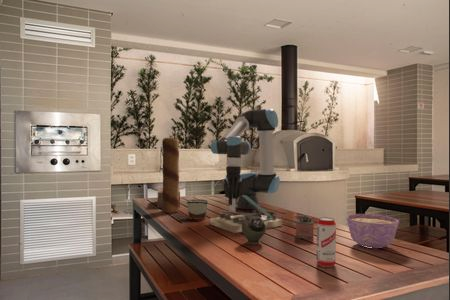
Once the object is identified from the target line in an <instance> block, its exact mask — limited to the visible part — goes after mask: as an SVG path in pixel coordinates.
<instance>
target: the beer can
mask: <svg viewBox="0 0 450 300" xmlns="http://www.w3.org/2000/svg"><path fill="white" fill-rule="evenodd" d="M316 225H317V226H316V256H315V257H316V260H315V261H316V264H317V265H318V266H319V265H320V266H319V267H321V266H324V267H323V268H325V267H331V268H333V267H334V266H336V251H337V250H336V246H337V244H336V243H337V241H336V240H337V239H336V237H337V223H336V222H335V218H332V217H325V216H324V217H321V216H320V217H319V218H318V221H317V223H316ZM332 266H333V267H332Z"/></svg>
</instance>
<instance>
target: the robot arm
mask: <svg viewBox="0 0 450 300" xmlns="http://www.w3.org/2000/svg"><path fill="white" fill-rule="evenodd" d="M278 126H279V117H278V113H277V112H276V111H275V109H272V108H265V109H263V108H262V109H249V110H247V111H245V112H243V113H242V114H240V115H239V116H238V117H237V118H236V119H235V121H234V124H232V125H231V127H230V128H228V130H227V131H226V132H225V133H224V134H223V135H222V136H221V137H220V138H219V140H213V141H211V143H210V151H211V153H212V154H214V155H226V170H225V171H226V176H225V177H224V178H222V179H221V182H222V184H223V189H224V190H223V191H224V196H225V198H227V199H228V205H229V210H228V211H232V212H233V211H235V212H236V209H240V210H258V209H257V208H256V207H255V206H254V205H252V204H251V203H250V202H249V201H247V200H246V199H245V198H244V197H242V195H246V196H248V197H249V198H250V199H251V200H252V201H254V202H255V203H256V204H257V205H259V201H258V200H259V199H258V198H257V193H261V194H276V193H277V192H278V190H279V187H280V182H281V181H280V176H279V175H277V172H276V170H274V169H275V168H274V162H275V161H274V135H273V134H274V132H275V131H276V128H278ZM253 128H255V129H256V132H257V133H258V134H259V135H258V137H259V139H258V141H259V164H260V167H259V169H260V170H259V171H258V173H257V171H256V172H245V173H242V171H241V170H242V167H241V166H242V155H243V156H246V155H248V154H250V152H251V151H252V145H251V144H250V142H249V141H246V140H242V137H241V136H242V134H243V133H244V132H245V131H247V130H249V129H253ZM259 206H260V205H259Z"/></svg>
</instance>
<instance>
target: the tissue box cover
mask: <svg viewBox="0 0 450 300" xmlns="http://www.w3.org/2000/svg"><path fill="white" fill-rule="evenodd" d="M156 207H157V209H158V208H160V209H161V208H163V187H159V188H158V191H157V206H156ZM179 208H181V191H180V189H179Z"/></svg>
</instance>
